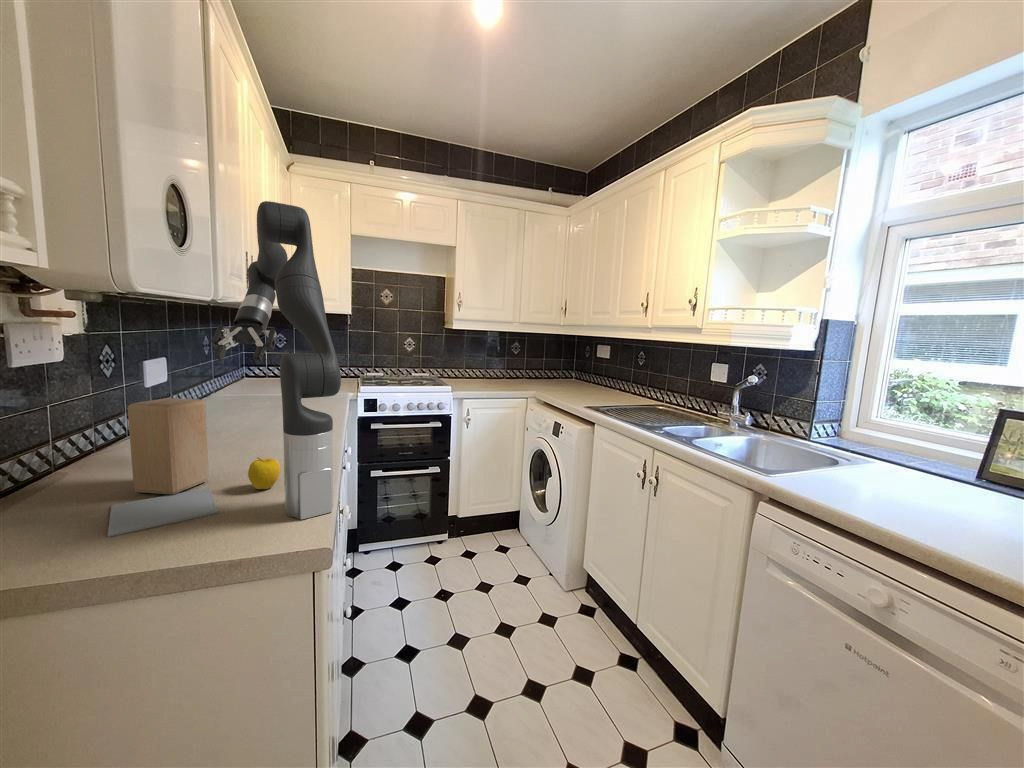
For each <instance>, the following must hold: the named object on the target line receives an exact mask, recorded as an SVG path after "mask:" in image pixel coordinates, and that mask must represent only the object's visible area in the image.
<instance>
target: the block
mask: <svg viewBox="0 0 1024 768" xmlns="http://www.w3.org/2000/svg"><path fill="white" fill-rule="evenodd" d="M206 417H207V414H206V402H205V400H202V399H199V398H180V397H179V398H177V397H176V398H175V397H167V398H166V397H164V398H159V399H153V400H145V401H139V402H133V403H130V404H129V405H128V406H127V418H128V429H129V430H128V431H129V443H130V445H129V446H130V455H131V456H130V457H131V469H132V482H133V483H132V484H133V490H134V492H136V493H142V494H143V493H146V494H147V493H148V494H158V495H159V494H161V495H172V494H177V493H182V492H184V491H185V490H188V489H190V488H193V487H195V486H197V485H200V484H203V483H204V482H205V483H206V482H207V481H209V479H210V470H209V469H210V468H209V466H210V465H209V453H208V452H209V449H208V435H207V432H208V431H207V418H206Z"/></svg>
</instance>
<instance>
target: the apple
mask: <svg viewBox="0 0 1024 768" xmlns="http://www.w3.org/2000/svg"><path fill="white" fill-rule="evenodd" d="M280 473H281V465H280V462H279V461H278V460H277V459H275V458H272V457H271V458H270V457H269V458H267V457H266V458H260V457H257V458H256V460H253V461H252V462H251V463H250V465H249V467H248V472H247V476H248V477H247V478H248V480H249V481H250V483H251V485H252V487H253V488H255V489H256V490H257V489H258V490H267V489H271V488H272V487H273V486H274V485H275V484H276V483H277V481H279V478H280V476H281V475H280Z"/></svg>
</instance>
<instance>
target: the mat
mask: <svg viewBox="0 0 1024 768" xmlns="http://www.w3.org/2000/svg"><path fill="white" fill-rule="evenodd" d="M109 513H110V515H109V521H108V529H107V538H109V537H114V536H115V537H116V536H120V535H124V534H128V533H129V534H130V533H133V532H136V531H142V530H147V529H151V528H157V527H161V526H164V525H170V524H174V523H178V522H183V521H187V520H191V519H192V520H193V519H198V518H202V517H207V516H212V515H214V514H219V510H218V507H217V505H216V503H215V500H214V498H213V495H212V492H211V490H210V488H209V487H205V488H201V489H195V490H189V491H182V492H178V493H176V494H165V495H162V496H156V497H151V498H145V499H139V500H135V501H127V502H124V503H117V504H111V505H110V512H109ZM197 517H198V518H197Z"/></svg>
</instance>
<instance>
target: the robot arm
mask: <svg viewBox="0 0 1024 768" xmlns="http://www.w3.org/2000/svg"><path fill="white" fill-rule="evenodd" d="M309 217H310V216H309V215H308V213H307V211H306V209H304V208H303V207H300V206H297V205H292V204H286V203H281V202H275V201H271V200H268V201H267V200H265V201H262V202H260V203H259V204H258V207H257V211H256V234H257V235H256V238H257V246H258V254H257V259H256V260H255V261H253V262H251V263H250V264H249V265H248V266H249V267H247V268H248V269H247V279H248V280H247V281H248V288H247V291H246V294H245V296H244V298H243V300H242V302H241V303H240V305H239V308H238V310H237V313H236V315H235V317H234V320H233V325H232V326H231V327H229V328H225V327H224V326H223V325H218V326H217V328H216V330H215V332H214V334H213V336H212V338H211V341H210V342H211V344H212V345H213V346H212V347H214V349H215V353H214V356H215V358H216V359H217V360H218V362H223V361H224V360H225V357H226V353H227V350H228V349H230V348H231V347H233V348H234V347H236V346H237V345H253V344H255V345H256V348H255V350H254V354H253V357H252V358H253V361H254V362H255V363H260V361H262V359H263V357H264V354H265V352H267V351H269V352H271V351H275V350H274V349H275V347H276V342H277V338H278V334H277V332H276V329H275V328H274V327H272V328H270V329H269V330H268V329H267V328H268V325H269V323H270V322H269V321H270V320H271V317H272V310H273V306H274V303H275V300H276V303H277V307H278V309H279V311H280V312H281V314H282V315H283V316H284V317H285V319H286V320H287V321H288V322H289V323H290V324H291V325H292V326H294V328H295V329H297V331H299V333H300V334H301V335H303V336H304V338H305V339H306V340H307V342H308V343H309V344H310V346H311V348H312V351H313V352H289V353H288V352H287V353H285V354H283V356H281V359H280V363H279V382H280V389H281V392H280V393H281V401H282V403H281V405H282V431H283V433H282V437H283V476H284V477H283V478H284V480H283V482H284V504H285V505H284V508H285V509H284V510H285V511H284V512H285V514H286V515H287V516H289V517H292V518H297V519H299V520H305V519H310V518H313V517H317V516H322V515H325V514H329V513H332V512H333V507H334V505H335V504H334V453H333V452H334V443H333V442H334V435H333V432H334V431H333V429H334V428H333V427H334V424H333V422H334V421H333V417H332V416H331V415H330V414H329V413H326V412H323V411H319V410H314V409H311V408H309V407H306V406H305V405H303V404H302V399H312V398H325V397H326V398H327V397H333V396H336V395H337V394H338V393H339V392H340V390H341V386H342V378H341V377H342V376H341V375H342V374H341V369H340V364H339V359H338V357H337V353H336V349H335V347H334V344H333V340H332V337H331V334H330V329H329V326H328V321H327V315H326V308H325V302H324V295H323V291H322V286H321V282H320V278H319V274H318V271H317V264H316V261H315V253H314V248H313V247H314V245H313V235H312V229H311V221H310V218H309ZM283 245H290V246H295V247H296V248H295V251H294V252H293V253H292V255H291V256H290V257H289V256H288V253H287V251H286V249H285V248H284V246H283ZM288 257H289V258H288ZM264 337H267V339H266V343H263V341H262V340H261V339H263V338H264ZM233 339H234V340H233Z"/></svg>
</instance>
